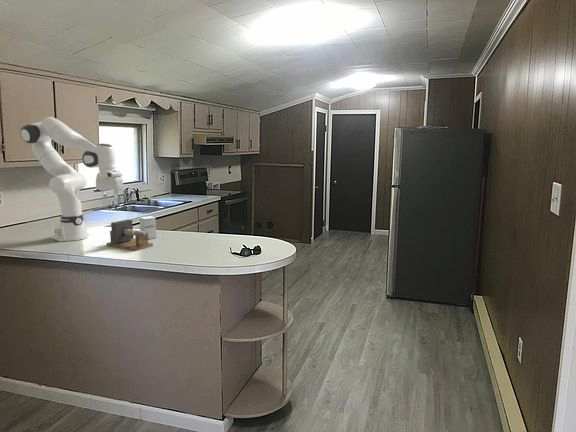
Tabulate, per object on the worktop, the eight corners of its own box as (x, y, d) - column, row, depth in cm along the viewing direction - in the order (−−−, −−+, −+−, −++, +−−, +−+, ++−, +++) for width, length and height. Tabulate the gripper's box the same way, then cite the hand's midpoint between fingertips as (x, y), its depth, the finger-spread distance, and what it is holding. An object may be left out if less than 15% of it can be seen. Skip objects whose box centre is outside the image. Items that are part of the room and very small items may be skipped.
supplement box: (144, 240, 269) (143, 218, 267) (140, 237, 275) (138, 217, 273) (157, 238, 273) (155, 217, 271) (152, 236, 279) (151, 215, 277)
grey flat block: (112, 242, 254) (111, 222, 252) (128, 238, 263) (127, 219, 261) (117, 243, 252) (115, 223, 250) (133, 238, 261) (132, 220, 259)
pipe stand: (106, 245, 256) (105, 229, 255) (124, 241, 266) (122, 225, 265) (135, 250, 244) (134, 233, 242) (153, 246, 254) (151, 229, 252)
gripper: (91, 173, 257) (94, 197, 260) (114, 174, 246) (116, 199, 248) (101, 172, 262) (104, 196, 265) (124, 173, 251) (126, 198, 253)
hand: (110, 197), depth 256 cm, fingers open, 8 cm apart
